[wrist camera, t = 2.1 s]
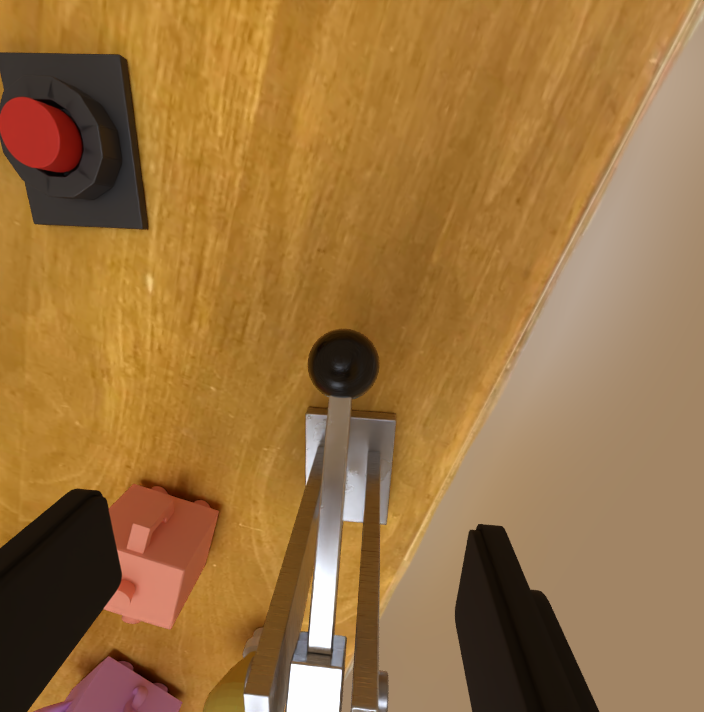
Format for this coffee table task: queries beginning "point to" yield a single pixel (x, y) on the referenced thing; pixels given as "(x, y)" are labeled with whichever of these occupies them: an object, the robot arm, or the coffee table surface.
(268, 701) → the lever stand
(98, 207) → the button block
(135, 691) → the teapot
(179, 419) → the coffee table surface
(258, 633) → the light bulb
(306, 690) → the lever
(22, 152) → the button
